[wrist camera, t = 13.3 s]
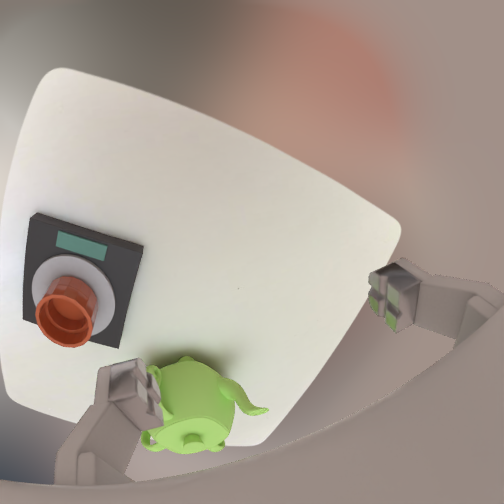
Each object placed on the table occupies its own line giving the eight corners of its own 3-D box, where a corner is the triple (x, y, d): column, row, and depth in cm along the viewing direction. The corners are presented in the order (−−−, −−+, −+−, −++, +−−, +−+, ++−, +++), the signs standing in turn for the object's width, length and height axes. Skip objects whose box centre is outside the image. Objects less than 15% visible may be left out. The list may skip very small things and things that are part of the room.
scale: (37, 212, 27) (27, 219, 24) (143, 246, 32) (142, 255, 30) (27, 310, 30) (21, 322, 28) (119, 338, 36) (118, 352, 33)
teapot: (148, 329, 37) (150, 401, 25) (243, 348, 42) (271, 412, 31) (130, 402, 41) (132, 466, 29) (209, 413, 46) (226, 471, 35)
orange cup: (38, 284, 27) (25, 305, 23) (82, 266, 28) (72, 286, 24) (65, 329, 30) (56, 353, 26) (108, 314, 31) (103, 338, 27)
